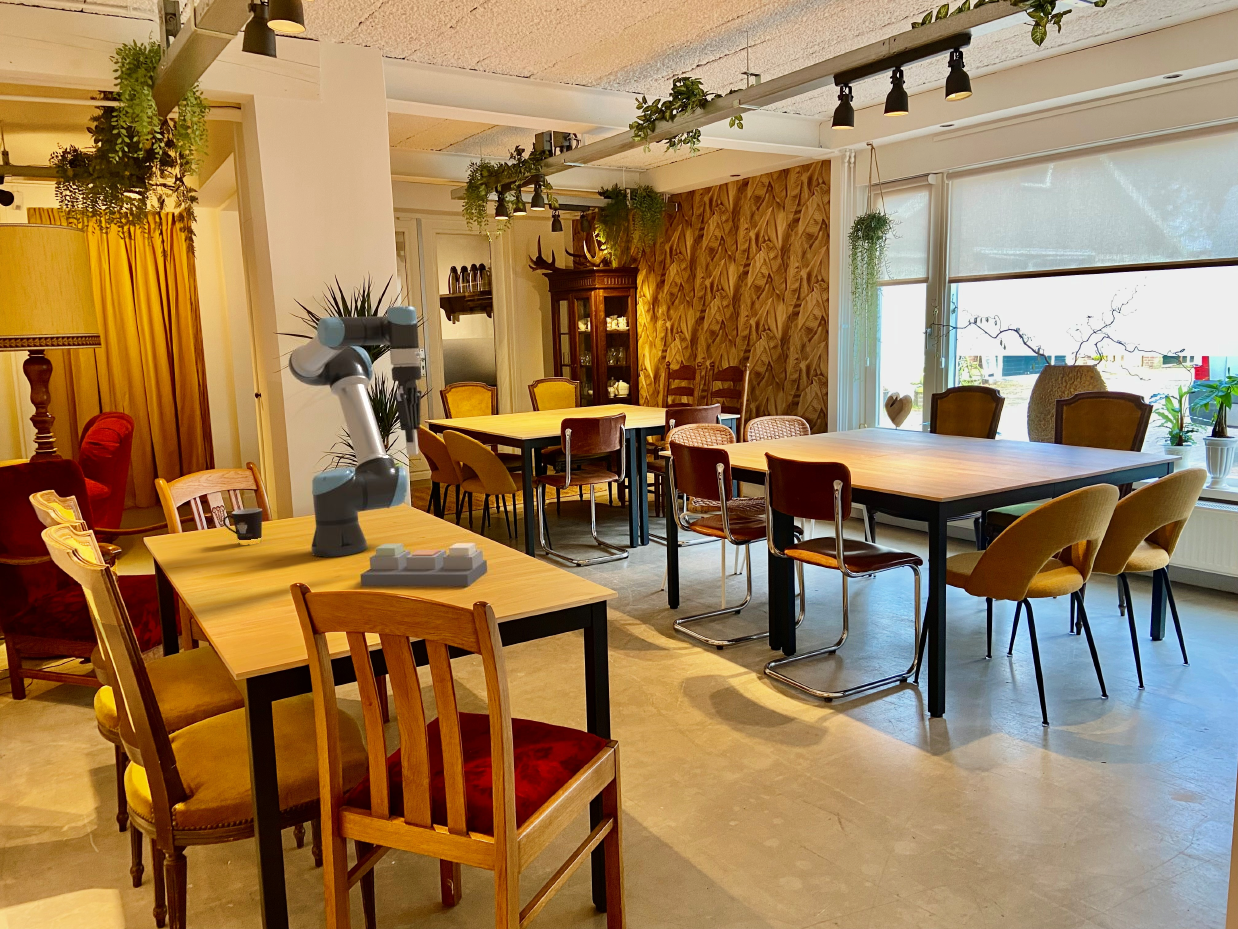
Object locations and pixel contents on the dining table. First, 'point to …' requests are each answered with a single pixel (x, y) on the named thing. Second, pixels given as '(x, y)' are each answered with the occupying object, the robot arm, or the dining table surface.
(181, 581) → the dining table surface
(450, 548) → the cream key
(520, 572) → the dining table surface
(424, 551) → the terracotta key
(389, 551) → the sage key
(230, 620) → the dining table surface
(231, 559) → the dining table surface
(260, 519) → the coffee mug
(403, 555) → the key panel
